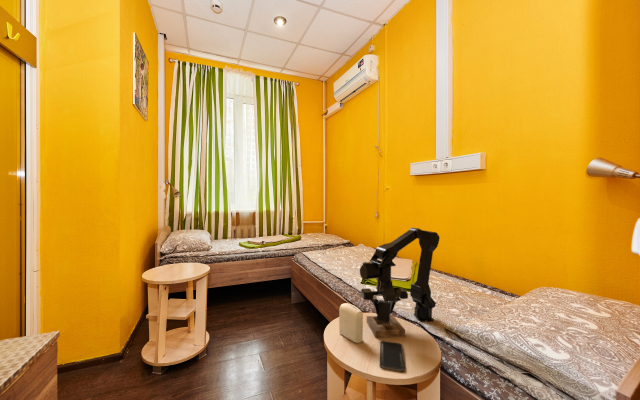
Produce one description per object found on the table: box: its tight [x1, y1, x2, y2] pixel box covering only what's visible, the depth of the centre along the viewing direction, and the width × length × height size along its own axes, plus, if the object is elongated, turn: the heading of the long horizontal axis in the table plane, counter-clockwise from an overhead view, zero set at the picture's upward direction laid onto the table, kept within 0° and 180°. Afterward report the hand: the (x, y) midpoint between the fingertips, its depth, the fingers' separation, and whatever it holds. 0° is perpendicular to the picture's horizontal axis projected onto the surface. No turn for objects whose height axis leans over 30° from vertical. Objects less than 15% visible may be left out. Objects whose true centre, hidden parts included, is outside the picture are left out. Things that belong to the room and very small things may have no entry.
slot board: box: [365, 314, 406, 339], centre depth 104 cm, size 12×12×2 cm
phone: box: [379, 340, 406, 373], centre depth 86 cm, size 8×1×15 cm
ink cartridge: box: [376, 299, 391, 323], centre depth 106 cm, size 5×2×8 cm, turn 66°
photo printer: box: [338, 302, 364, 344], centre depth 98 cm, size 10×4×12 cm, turn 39°
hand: (383, 313), depth 106 cm, fingers closed on ink cartridge, 5 cm apart
